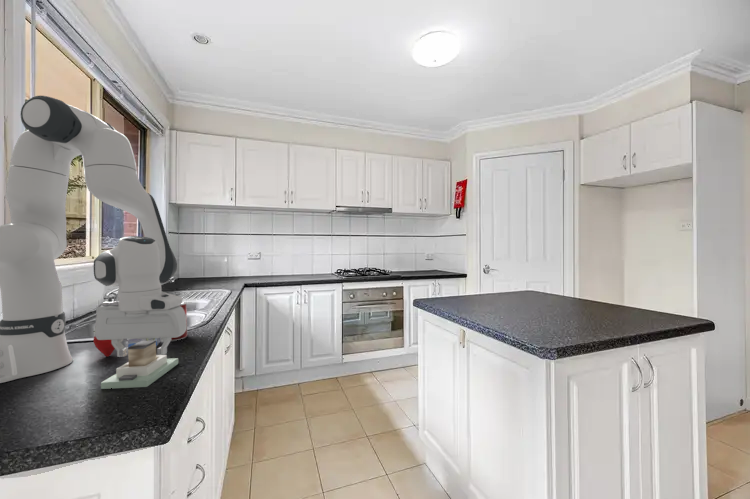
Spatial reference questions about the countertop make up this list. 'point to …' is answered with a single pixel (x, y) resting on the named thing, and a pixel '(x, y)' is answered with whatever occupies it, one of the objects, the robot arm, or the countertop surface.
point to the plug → (142, 353)
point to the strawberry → (104, 346)
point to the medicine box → (134, 341)
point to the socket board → (139, 373)
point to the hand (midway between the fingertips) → (142, 355)
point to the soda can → (186, 324)
